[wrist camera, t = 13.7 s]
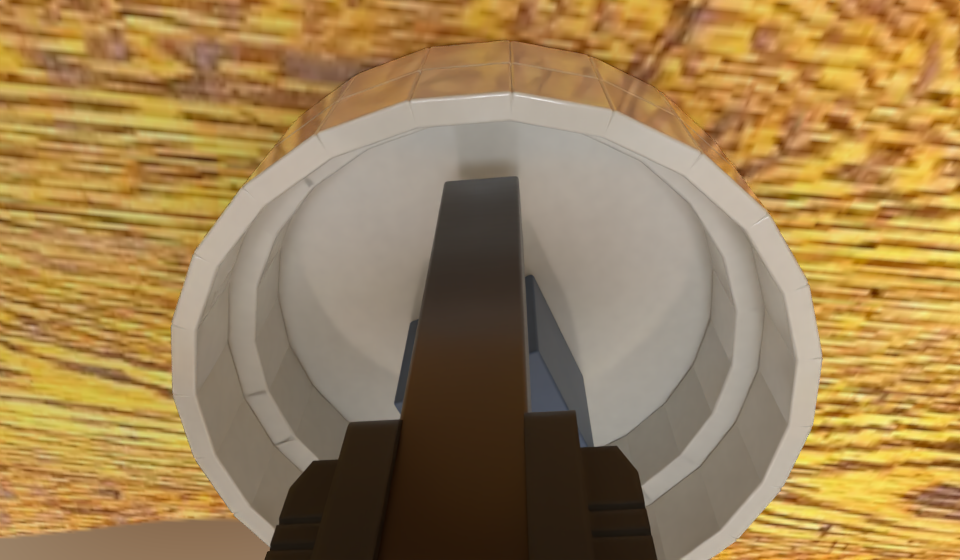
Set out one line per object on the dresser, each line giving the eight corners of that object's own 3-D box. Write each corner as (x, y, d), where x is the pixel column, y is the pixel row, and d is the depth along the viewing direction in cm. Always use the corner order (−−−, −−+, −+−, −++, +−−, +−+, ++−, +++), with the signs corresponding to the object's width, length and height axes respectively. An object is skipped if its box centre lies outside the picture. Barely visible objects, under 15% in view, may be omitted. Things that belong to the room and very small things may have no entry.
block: (466, 418, 25) (461, 511, 21) (409, 321, 23) (392, 404, 19) (583, 376, 24) (598, 466, 20) (532, 272, 22) (538, 350, 19)
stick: (452, 247, 19) (358, 919, 7) (443, 180, 18) (323, 811, 6) (523, 242, 19) (556, 917, 7) (518, 174, 18) (545, 806, 6)
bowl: (297, 496, 27) (252, 633, 22) (180, 63, 20) (78, 126, 15) (734, 476, 26) (786, 613, 21) (775, 12, 19) (867, 62, 14)
